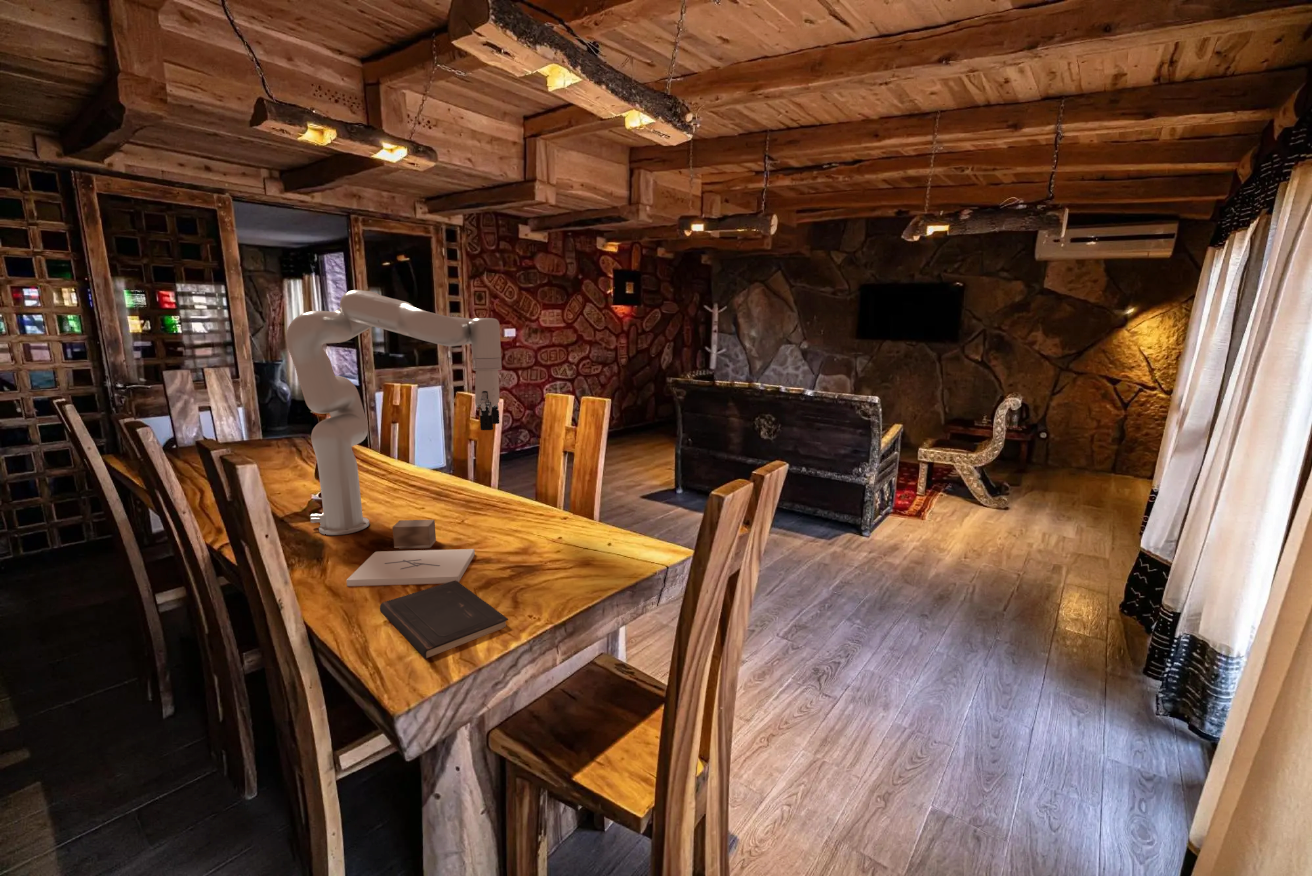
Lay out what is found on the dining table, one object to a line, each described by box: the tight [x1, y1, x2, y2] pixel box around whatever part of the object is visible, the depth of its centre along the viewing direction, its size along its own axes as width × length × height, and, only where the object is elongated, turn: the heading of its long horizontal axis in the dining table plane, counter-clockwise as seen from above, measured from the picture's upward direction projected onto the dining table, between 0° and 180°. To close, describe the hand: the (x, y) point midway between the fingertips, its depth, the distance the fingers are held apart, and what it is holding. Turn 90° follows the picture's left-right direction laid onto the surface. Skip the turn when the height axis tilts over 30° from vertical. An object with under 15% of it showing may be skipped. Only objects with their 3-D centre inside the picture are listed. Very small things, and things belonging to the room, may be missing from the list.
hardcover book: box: [379, 580, 509, 660], centre depth 112 cm, size 16×23×2 cm
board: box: [346, 548, 476, 587], centre depth 135 cm, size 24×16×2 cm, turn 95°
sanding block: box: [392, 519, 437, 549], centre depth 149 cm, size 9×5×6 cm, turn 94°
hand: (490, 426), depth 158 cm, fingers open, 9 cm apart
